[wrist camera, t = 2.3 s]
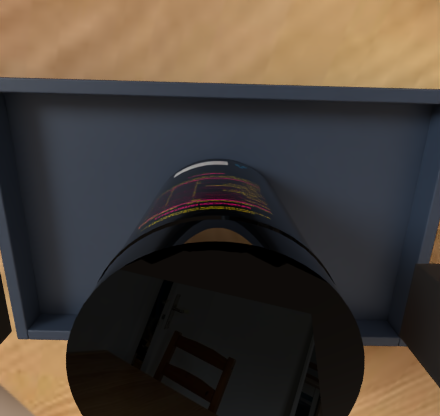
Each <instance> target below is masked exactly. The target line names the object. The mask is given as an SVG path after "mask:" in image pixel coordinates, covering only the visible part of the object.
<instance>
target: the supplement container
mask: <svg viewBox="0 0 440 416" xmlns="http://www.w3.org/2000/svg"><path fill="white" fill-rule="evenodd" d="M364 358H365V356H364V347H363V341H362V337H361V333H360V330H359V327H358V325H357V322H356V320H355V318H354V316H353V314H352V312H351V310H350V309H349V307H348V305H347V304H346V302H345V300H344V299H343V297H342V296H341V294H340V292H339V291H338V289H337V288H336V286H335V283H334V281H333V279H332V278H331V276H330V274H329V272H328V271H327V269H326V268H325V266H324V265H323V263H322V262H321V261H320V259H319V258H318V257H317V256H316V255H315V254H314V253H313V251H312V249H311V248H310V246H309V245H308V243H307V241H306V240H305V238H304V236H303V235H302V233H301V231H300V230H299V228H298V227H297V225H296V223H295V222H294V220H293V218H292V217H291V215H290V214H289V212H288V210H287V209H286V207H285V205H284V204H283V202H282V201H281V199H280V197H279V196H278V194H277V192H276V191H275V189H274V188H273V186H272V185H271V183H270V182H269V181H268V180H267V179H266V178H265V177H264V176H263V175H262V174H261V173H259V172H258V171H257V170H255V169H254V168H252V167H250V166H248V165H246V164H244V163H241V162H238V161H234V160H230V159H222V158H213V159H205V160H200V161H197V162H194V163H191V164H189V165H187V166H185V167H183V168H181V169H180V170H178V171H177V172H175V173H174V174H173V175H172V176H171V177H170V178H169V179H168V180H167V181H166V182H165V183H164V185H163V186H162V187H161V189H160V190H159V192H158V193H157V195H156V196H155V198H154V200H153V201H152V203H151V204H150V206H149V207H148V209H147V210H146V212H145V213H144V215H143V216H142V218H141V220H140V221H139V223H138V224H137V226H136V227H135V229H134V230H133V232H132V233H131V235H130V236H129V238H128V240H127V241H126V243H125V244H124V246H123V247H122V249H121V250H120V251H119V252H118V253H117V254H116V256H115V257H114V258H113V259H112V260H111V262H110V263H109V265H108V266H107V267H106V269H105V270H104V272H103V274H102V275H101V277H100V279H99V281H98V283H97V285H96V286H95V288H94V289H93V291H92V292H91V294H90V295H89V297H88V298H87V300H86V301H85V303H84V304H83V306H82V308H81V309H80V311H79V313H78V315H77V317H76V319H75V321H74V324H73V326H72V329H71V332H70V335H69V339H68V344H67V352H66V370H67V377H68V382H69V386H70V389H71V393H72V395H73V398H74V400H75V403H76V405H77V406H78V408H79V410H80V412H81V414H82V415H83V416H348V415H349V413H350V412H351V410H352V408H353V406H354V404H355V402H356V400H357V397H358V395H359V392H360V388H361V385H362V381H363V375H364Z"/></svg>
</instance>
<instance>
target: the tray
mask: <svg viewBox="0 0 440 416" xmlns="http://www.w3.org/2000/svg"><path fill="white" fill-rule="evenodd" d="M213 158H222V159H230V160H234V161H238V162H241V163H244V164H246V165H248V166H250V167H252V168H254V169H255V170H257V171H258V172H259V173H261V174H262V175H263V176H264V177H265V178H266V179H267V180H268V181H269V182H270V183H271V185H272V186H273V188H274V189H275V191H276V192H277V194H278V196H279V197H280V199H281V201H282V202H283V204H284V205H285V207H286V209H287V210H288V212H289V214H290V215H291V217H292V218H293V220H294V222H295V223H296V225H297V227H298V228H299V230H300V231H301V233H302V235H303V236H304V238H305V240H306V241H307V243H308V245H309V246H310V248H311V249H312V251H313V253H314V254H315V255H316V256H317V257H318V258H319V259H320V261H321V262H322V263H323V265H324V266H325V268H326V269H327V271H328V272H329V274H330V276H331V278H332V279H333V281H334V283H335V286H336V288H337V289H338V291H339V292H340V294H341V296H342V297H343V299H344V300H345V302H346V304H347V305H348V307H349V309H350V310H351V312H352V314H353V316H354V318H355V320H356V322H357V325H358V327H359V330H360V333H361V337H362V341H363V346H407V345H406V344H405V343H404V342H403V340H402V339H401V338H400V336H399V334H400V329H401V325H402V320H403V316H404V312H405V307H406V303H407V298H408V294H409V290H410V285H411V281H412V277H413V272H414V268H415V264H429V262H430V257H431V253H432V249H433V245H434V241H435V237H436V233H437V229H438V225H439V221H440V89H407V88H370V87H334V86H298V85H262V84H226V83H190V82H154V81H117V80H81V79H45V78H9V77H0V250H1V255H2V260H3V265H4V270H5V275H6V280H7V286H8V291H9V296H10V301H11V306H12V311H13V316H14V321H15V327H16V332H17V337H18V339H39V340H68V339H69V335H70V332H71V329H72V326H73V324H74V321H75V319H76V317H77V315H78V313H79V311H80V309H81V308H82V306H83V304H84V303H85V301H86V300H87V298H88V297H89V295H90V294H91V292H92V291H93V289H94V288H95V286H96V285H97V283H98V281H99V279H100V277H101V275H102V274H103V272H104V270H105V269H106V267H107V266H108V265H109V263H110V262H111V260H112V259H113V258H114V257H115V256H116V254H117V253H118V252H119V251H120V250H121V249H122V247H123V246H124V244H125V243H126V241H127V240H128V238H129V236H130V235H131V233H132V232H133V230H134V229H135V227H136V226H137V224H138V223H139V221H140V220H141V218H142V216H143V215H144V213H145V212H146V210H147V209H148V207H149V206H150V204H151V203H152V201H153V200H154V198H155V196H156V195H157V193H158V192H159V190H160V189H161V187H162V186H163V185H164V183H165V182H166V181H167V180H168V179H169V178H170V177H171V176H172V175H173V174H174V173H175V172H177V171H178V170H180V169H181V168H183V167H185V166H187V165H189V164H191V163H194V162H197V161H200V160H205V159H213Z"/></svg>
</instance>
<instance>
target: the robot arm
mask: <svg viewBox="0 0 440 416" xmlns="http://www.w3.org/2000/svg"><path fill="white" fill-rule="evenodd" d="M11 332H12V330H11V325H10V320H9V314H8V309H7V304H6V299H5V294H4V289H3V284H2V279H1V274H0V344H1V343H2V342H3V341H4V340H5V339H6V337H7V336H8V335H9V334H10V333H11ZM399 336H400V338H401V339H402V340H403V342H404V343H405V344H406V345H407V347H408V348H409V349H410V350H411V352H412V353H413V354H414V356H415V357H416V358H417V359H418V361H419V362H420V363H421V365H422V366H423V367H424V368H425V370H426V371H427V372H428V373H429V375H430V376H431V377H432V379H433V380H434V381H435V382H436V384H437V385H438V386H439V388H440V264H415V268H414V272H413V277H412V281H411V285H410V290H409V294H408V298H407V303H406V307H405V312H404V316H403V320H402V325H401V329H400V334H399Z"/></svg>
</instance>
